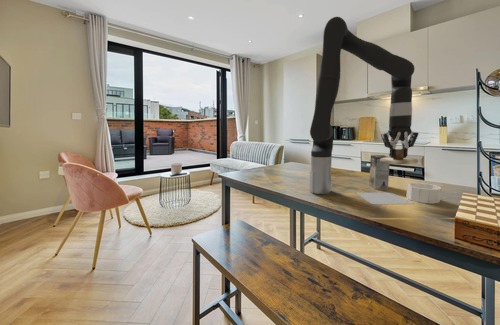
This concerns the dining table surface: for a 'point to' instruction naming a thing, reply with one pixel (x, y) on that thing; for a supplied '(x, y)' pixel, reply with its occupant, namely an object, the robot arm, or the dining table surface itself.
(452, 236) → the dining table surface
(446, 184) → the dining table surface
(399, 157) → the lid
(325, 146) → the robot arm
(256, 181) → the dining table surface
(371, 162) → the coffee box
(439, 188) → the bowl
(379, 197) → the mat
